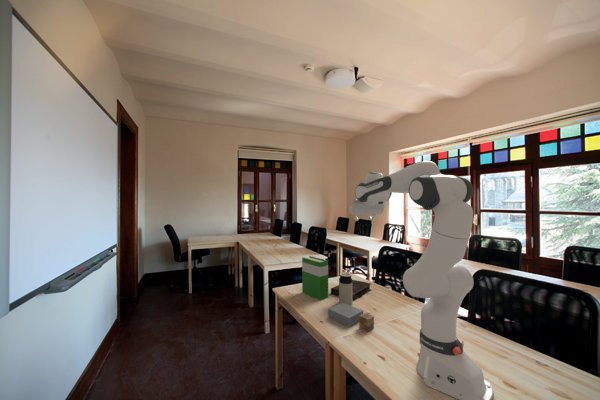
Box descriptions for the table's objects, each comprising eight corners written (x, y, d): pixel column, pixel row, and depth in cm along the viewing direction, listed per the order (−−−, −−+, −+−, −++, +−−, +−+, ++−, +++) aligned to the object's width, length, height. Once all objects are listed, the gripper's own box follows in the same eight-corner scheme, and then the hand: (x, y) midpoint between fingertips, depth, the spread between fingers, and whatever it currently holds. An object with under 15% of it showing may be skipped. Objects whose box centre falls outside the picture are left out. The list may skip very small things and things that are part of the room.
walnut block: (373, 328, 117) (373, 316, 117) (368, 332, 114) (368, 319, 114) (365, 324, 121) (365, 312, 121) (359, 327, 118) (359, 315, 118)
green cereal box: (302, 292, 165) (302, 257, 165) (310, 289, 169) (310, 256, 169) (320, 300, 151) (319, 262, 151) (328, 297, 155) (328, 260, 156)
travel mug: (354, 305, 143) (353, 275, 143) (340, 306, 142) (340, 276, 142) (350, 300, 151) (350, 271, 151) (337, 300, 150) (337, 272, 150)
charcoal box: (363, 320, 126) (363, 310, 126) (349, 328, 118) (349, 318, 118) (342, 311, 137) (342, 302, 137) (328, 318, 129) (328, 308, 129)
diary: (330, 294, 162) (330, 287, 162) (349, 285, 180) (349, 278, 181) (355, 302, 149) (354, 294, 150) (372, 290, 168) (372, 283, 168)
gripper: (354, 201, 130) (349, 223, 136) (387, 201, 135) (381, 222, 141) (349, 196, 135) (345, 217, 141) (381, 196, 140) (376, 217, 146)
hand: (363, 220), depth 141 cm, fingers open, 8 cm apart
